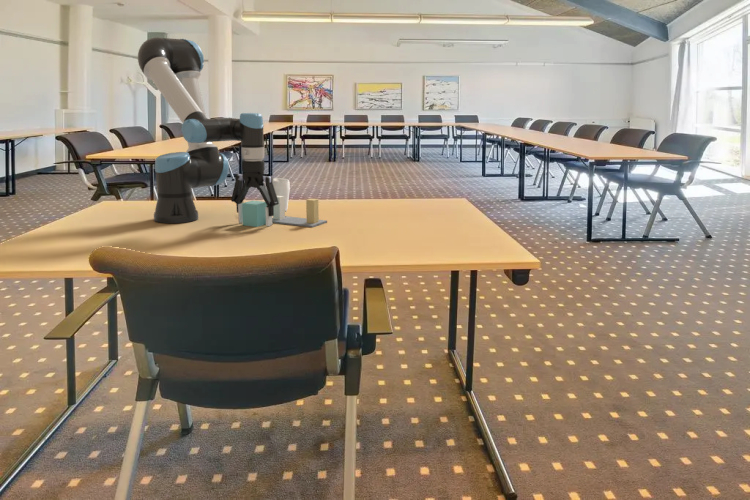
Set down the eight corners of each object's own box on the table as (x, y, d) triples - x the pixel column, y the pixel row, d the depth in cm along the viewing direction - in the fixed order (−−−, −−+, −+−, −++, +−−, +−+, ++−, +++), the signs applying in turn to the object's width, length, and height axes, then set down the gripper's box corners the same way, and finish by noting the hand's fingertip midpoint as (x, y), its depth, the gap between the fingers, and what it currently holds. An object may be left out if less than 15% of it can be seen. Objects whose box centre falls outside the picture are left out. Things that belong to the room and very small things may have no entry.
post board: (263, 221, 222) (263, 197, 220) (279, 217, 231) (279, 193, 229) (312, 227, 214) (312, 202, 212) (327, 222, 223) (327, 198, 221)
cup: (285, 213, 239) (285, 181, 236) (263, 212, 241) (262, 180, 238) (293, 209, 248) (292, 178, 245) (271, 208, 249) (270, 177, 246)
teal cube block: (243, 225, 217) (242, 203, 215) (253, 222, 222) (252, 200, 220) (257, 226, 214) (256, 204, 212) (267, 223, 219) (266, 201, 218)
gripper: (218, 159, 214) (221, 222, 220) (275, 162, 205) (277, 229, 210) (232, 157, 221) (235, 218, 226) (288, 160, 211) (289, 225, 216)
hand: (255, 223), depth 218 cm, fingers open, 11 cm apart
